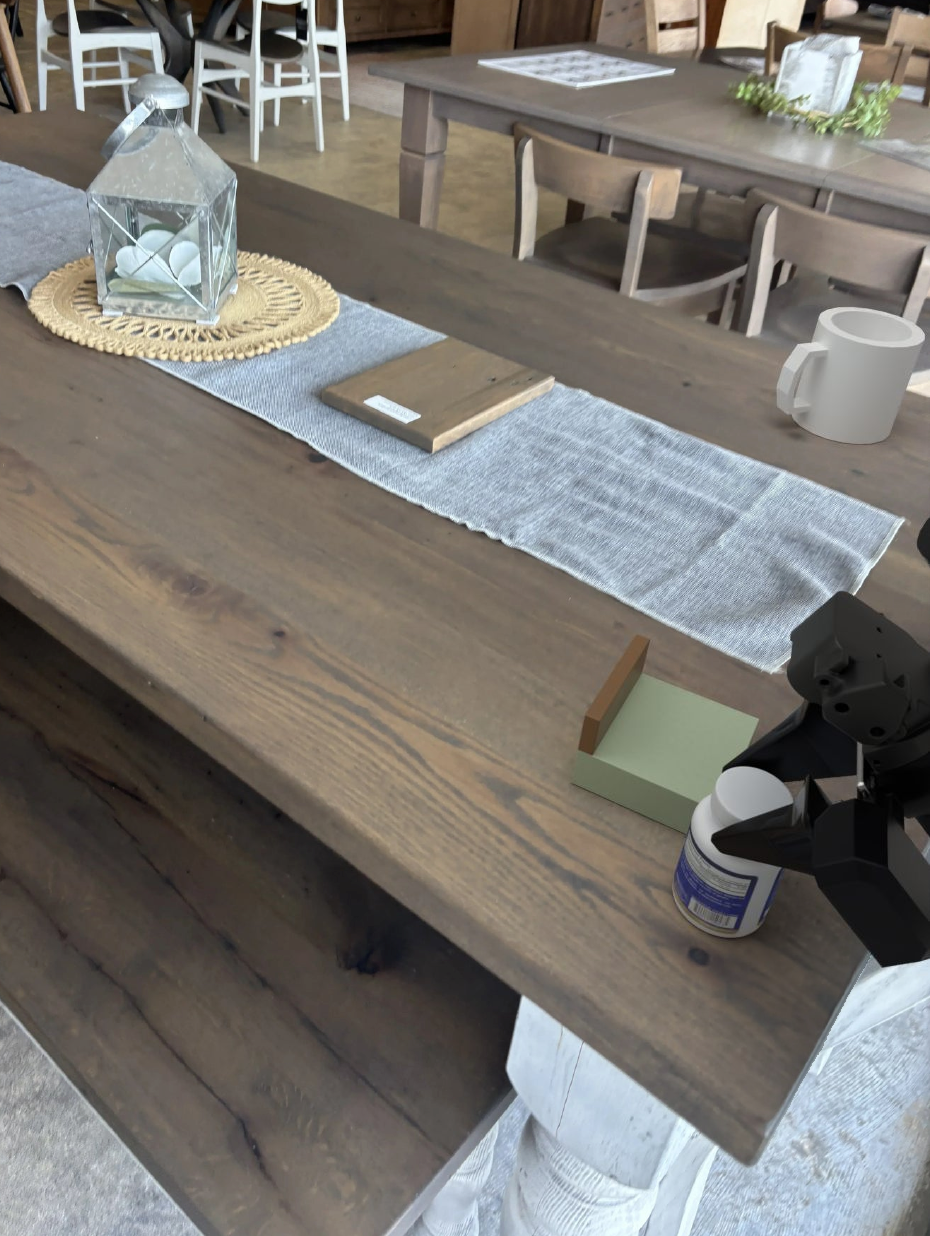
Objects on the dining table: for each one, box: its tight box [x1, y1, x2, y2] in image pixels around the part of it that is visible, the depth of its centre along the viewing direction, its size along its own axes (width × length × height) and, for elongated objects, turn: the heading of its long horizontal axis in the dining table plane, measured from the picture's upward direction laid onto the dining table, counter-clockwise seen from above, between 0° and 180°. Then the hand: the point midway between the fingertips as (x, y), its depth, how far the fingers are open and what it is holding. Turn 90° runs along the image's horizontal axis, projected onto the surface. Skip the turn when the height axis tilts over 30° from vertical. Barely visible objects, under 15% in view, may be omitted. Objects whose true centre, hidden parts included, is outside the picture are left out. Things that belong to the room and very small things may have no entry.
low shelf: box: [570, 633, 760, 836], centre depth 63 cm, size 9×9×6 cm
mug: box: [776, 306, 926, 445], centre depth 103 cm, size 14×10×11 cm
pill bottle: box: [671, 767, 795, 939], centre depth 54 cm, size 5×5×9 cm
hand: (720, 808), depth 53 cm, fingers closed on pill bottle, 4 cm apart
